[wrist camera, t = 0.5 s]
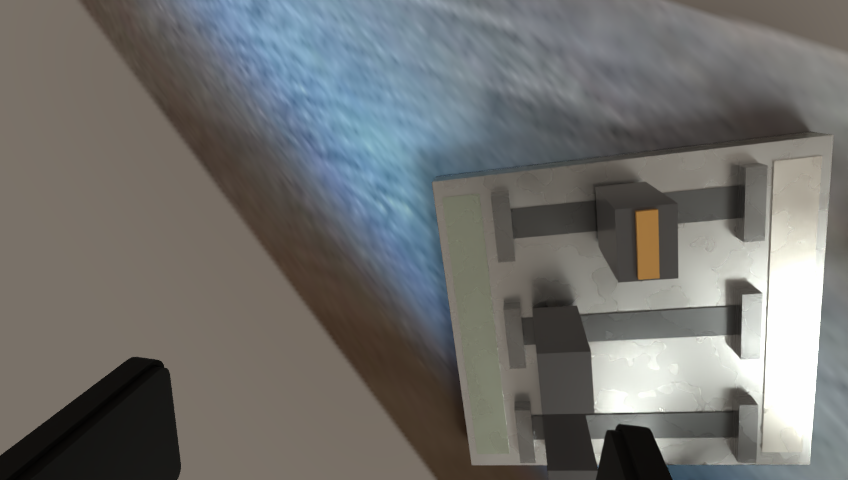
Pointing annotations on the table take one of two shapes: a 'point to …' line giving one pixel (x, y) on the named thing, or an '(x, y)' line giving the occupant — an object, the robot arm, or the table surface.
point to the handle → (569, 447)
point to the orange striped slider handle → (637, 231)
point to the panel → (647, 299)
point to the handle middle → (563, 361)
